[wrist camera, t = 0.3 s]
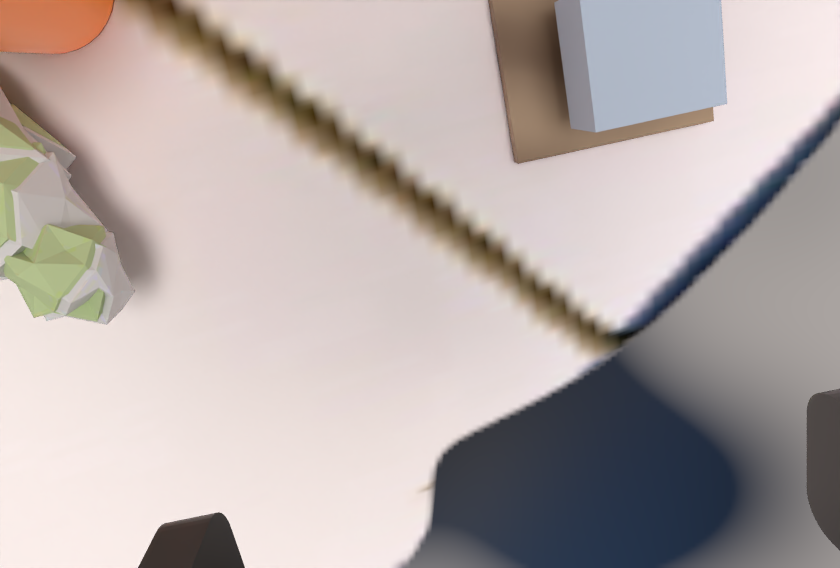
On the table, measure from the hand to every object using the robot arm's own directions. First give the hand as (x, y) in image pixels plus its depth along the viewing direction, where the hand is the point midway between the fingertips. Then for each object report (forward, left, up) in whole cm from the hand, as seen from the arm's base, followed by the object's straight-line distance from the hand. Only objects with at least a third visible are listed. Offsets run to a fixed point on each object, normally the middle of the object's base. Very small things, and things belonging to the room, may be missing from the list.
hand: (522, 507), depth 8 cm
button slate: (-5, +11, -25) cm, 28 cm away
